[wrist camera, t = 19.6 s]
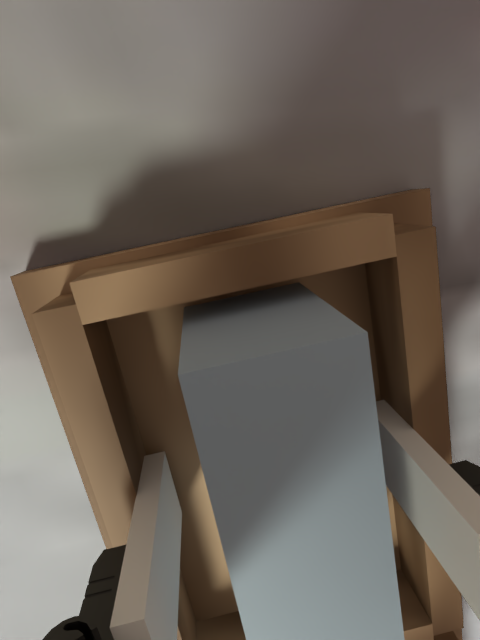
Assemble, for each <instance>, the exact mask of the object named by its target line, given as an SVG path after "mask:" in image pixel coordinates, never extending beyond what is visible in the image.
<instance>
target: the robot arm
mask: <svg viewBox="0 0 480 640" xmlns="http://www.w3.org/2000/svg"><path fill="white" fill-rule="evenodd" d="M376 407H377V415H378V423H379V432H380V440H381V448H382V456H383V465H384V473H385V481H386V486H387V487H388V489H389V490H390V491H391V493H392V494H393V496H394V497H395V499H396V500H397V502H398V503H399V504H400V506H401V507H402V509H403V510H404V512H405V513H406V515H407V516H408V517H409V519H410V520H411V522H412V523H413V525H414V526H415V528H416V529H417V530H418V532H419V533H420V535H421V536H422V538H423V539H424V541H425V542H426V543H427V545H428V546H429V548H430V549H431V551H432V552H433V554H434V555H435V557H436V558H437V559H438V561H439V562H440V564H441V565H442V567H443V568H444V570H445V571H446V572H447V574H448V575H449V577H450V578H451V580H452V581H453V583H454V584H455V585H456V587H457V588H458V590H459V591H460V593H461V594H462V596H463V597H464V598H465V600H466V601H467V603H468V604H469V606H470V607H471V609H472V610H473V611H474V613H475V614H476V616H477V617H478V619H479V620H480V467H479V466H477V465H475V464H473V463H470V462H468V461H466V460H465V461H461V462H457V463H453V464H448V463H447V462H446V461H445V460H444V459H443V458H442V457H441V456H440V455H439V454H438V453H437V452H436V451H435V450H434V449H433V448H432V447H431V446H430V445H429V444H428V443H427V442H426V441H425V440H424V439H423V438H422V437H421V436H420V435H419V434H418V433H417V432H416V431H415V430H414V429H413V428H412V427H411V426H410V425H409V424H408V423H407V422H406V421H405V420H404V419H403V418H402V417H401V416H400V415H399V414H398V413H397V412H396V411H395V410H394V409H393V408H392V407H391V406H390V405H389V404H388V403H387V402H386V401H385V400H380V401H376ZM181 527H182V510H181V507H180V503H179V500H178V496H177V493H176V489H175V486H174V482H173V479H172V475H171V472H170V468H169V465H168V461H167V458H166V454H165V451H163V452H159V453H155V454H151V455H146V456H144V461H143V466H142V471H141V476H140V481H139V486H138V491H137V496H136V499H135V504H134V509H133V514H132V519H131V524H130V529H129V534H128V539H127V544H126V545H122V546H118V547H114V548H110V549H106V550H104V551H103V552H102V554H101V555H100V556H99V558H98V559H97V561H96V562H95V564H94V565H93V568H92V571H91V575H90V579H89V585H88V586H87V589H86V593H85V599H84V600H83V603H82V607H81V611H80V614H79V616H74V617H72V618H69V619H67V620H65V621H62V622H61V623H60V624H58V625H57V626H56V627H54V628H53V629H51V631H50V632H49V633H48V634H47V635H46V636H45V637H44V638H43V640H177V626H178V601H179V576H180V552H181Z"/></svg>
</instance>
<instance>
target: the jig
mask: <svg viewBox="0 0 480 640" xmlns="http://www.w3.org/2000/svg"><path fill="white" fill-rule="evenodd" d="M11 280H12V283H13V286H14V289H15V292H16V294H17V297H18V300H19V303H20V306H21V309H22V311H23V314H24V317H25V320H26V323H27V326H28V328H29V331H30V334H31V337H32V340H33V342H34V345H35V348H36V351H37V354H38V357H39V359H40V362H41V365H42V368H43V371H44V374H45V376H46V379H47V382H48V385H49V388H50V391H51V393H52V396H53V399H54V402H55V405H56V408H57V410H58V413H59V416H60V419H61V422H62V424H63V427H64V430H65V433H66V436H67V439H68V441H69V444H70V447H71V450H72V453H73V456H74V458H75V461H76V464H77V467H78V470H79V473H80V475H81V478H82V481H83V484H84V487H85V490H86V492H87V495H88V498H89V501H90V504H91V506H92V509H93V512H94V515H95V518H96V521H97V523H98V526H99V529H100V532H101V535H102V538H103V540H104V543H105V546H106V549H110V548H114V547H118V546H122V545H126V544H127V539H128V534H129V529H130V524H131V519H132V514H133V509H134V504H135V499H136V496H137V491H138V486H139V481H140V476H141V471H142V466H143V461H144V456H146V455H151V454H155V453H159V452H163V451H165V454H166V458H167V461H168V465H169V468H170V472H171V475H172V479H173V482H174V486H175V489H176V493H177V496H178V500H179V503H180V507H181V510H182V527H181V552H180V576H179V601H178V626H177V640H246V637H245V633H244V629H243V625H242V622H241V618H240V614H239V610H238V606H237V602H236V598H235V594H234V591H233V587H232V583H231V579H230V575H229V571H228V567H227V563H226V560H225V556H224V552H223V548H222V544H221V540H220V536H219V532H218V529H217V525H216V521H215V517H214V513H213V509H212V505H211V501H210V498H209V494H208V490H207V486H206V482H205V478H204V474H203V470H202V467H201V463H200V459H199V455H198V451H197V447H196V443H195V439H194V436H193V432H192V428H191V424H190V420H189V416H188V412H187V408H186V405H185V401H184V397H183V393H182V389H181V385H180V381H179V377H178V368H179V357H180V346H181V336H182V325H183V314H184V307H188V306H193V305H197V304H202V303H206V302H211V301H215V300H220V299H225V298H229V297H234V296H238V295H243V294H248V293H252V292H257V291H261V290H266V289H271V288H275V287H280V286H284V285H289V284H294V283H298V282H299V283H300V284H302V285H303V286H305V287H306V288H307V289H309V290H310V291H311V292H313V293H314V294H316V295H317V296H318V297H320V298H321V299H322V300H324V301H325V302H327V303H328V304H329V305H331V306H332V307H334V308H335V309H336V310H338V311H339V312H340V313H342V314H343V315H345V316H346V317H347V318H349V319H350V320H351V321H353V322H354V323H356V324H357V325H358V326H360V327H361V328H363V329H364V330H365V331H367V332H368V340H369V349H370V357H371V365H372V373H373V382H374V390H375V398H376V401H380V400H385V401H386V402H387V403H388V404H389V405H390V406H391V407H392V408H393V409H394V410H395V411H396V412H397V413H398V414H399V415H400V416H401V417H402V418H403V419H404V420H405V421H406V422H407V423H408V424H409V425H410V426H411V427H412V428H413V429H414V430H415V431H416V432H417V433H418V434H419V435H420V436H421V437H422V438H423V439H424V440H425V441H426V442H427V443H428V444H429V445H430V446H431V447H432V448H433V449H434V450H435V451H436V452H437V453H438V454H439V455H440V456H441V457H442V458H443V459H444V460H445V461H446V462H447V463H448V464H452V455H451V441H450V427H449V412H448V398H447V384H446V370H445V355H444V341H443V327H442V313H441V298H440V284H439V270H438V256H437V241H436V227H435V226H432V212H431V198H430V188H425V189H412V190H407V191H403V192H398V193H393V194H388V195H384V196H379V197H374V198H369V199H365V200H360V201H355V202H350V203H346V204H341V205H336V206H331V207H327V208H322V209H317V210H313V211H308V212H303V213H298V214H294V215H289V216H284V217H279V218H275V219H270V220H265V221H260V222H256V223H251V224H246V225H241V226H237V227H232V228H227V229H222V230H218V231H213V232H208V233H204V234H199V235H194V236H189V237H185V238H180V239H175V240H170V241H166V242H161V243H156V244H151V245H147V246H142V247H137V248H132V249H128V250H123V251H118V252H114V253H109V254H104V255H99V256H95V257H90V258H85V259H80V260H76V261H71V262H66V263H61V264H57V265H52V266H47V267H42V268H38V269H33V270H28V271H24V272H21V273H19V274H16V275H14V276H11ZM386 490H387V498H388V506H389V515H390V523H391V531H392V540H393V548H394V556H395V564H396V573H397V581H398V589H399V598H400V606H401V614H402V623H403V631H404V639H405V640H462V629H461V628H464V626H463V612H462V598H461V593H460V591H459V590H458V588H457V587H456V585H455V584H454V583H453V581H452V580H451V578H450V577H449V575H448V574H447V572H446V571H445V570H444V568H443V567H442V565H441V564H440V562H439V561H438V559H437V558H436V557H435V555H434V554H433V552H432V551H431V549H430V548H429V546H428V545H427V543H426V542H425V541H424V539H423V538H422V536H421V535H420V533H419V532H418V530H417V529H416V528H415V526H414V525H413V523H412V522H411V520H410V519H409V517H408V516H407V515H406V513H405V512H404V510H403V509H402V507H401V506H400V504H399V503H398V502H397V500H396V499H395V497H394V496H393V494H392V493H391V491H390V490H389V489H388V487H387V486H386Z"/></svg>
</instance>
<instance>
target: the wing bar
mask: <svg viewBox="0 0 480 640" xmlns="http://www.w3.org/2000/svg"><path fill="white" fill-rule="evenodd" d="M178 377H179V381H180V385H181V389H182V393H183V397H184V401H185V405H186V408H187V412H188V416H189V420H190V424H191V428H192V432H193V436H194V439H195V443H196V447H197V451H198V455H199V459H200V463H201V467H202V470H203V474H204V478H205V482H206V486H207V490H208V494H209V498H210V501H211V505H212V509H213V513H214V517H215V521H216V525H217V529H218V532H219V536H220V540H221V544H222V548H223V552H224V556H225V560H226V563H227V567H228V571H229V575H230V579H231V583H232V587H233V591H234V594H235V598H236V602H237V606H238V610H239V614H240V618H241V622H242V625H243V629H244V633H245V637H246V640H405V639H404V631H403V623H402V614H401V606H400V598H399V589H398V581H397V573H396V564H395V556H394V548H393V540H392V531H391V523H390V515H389V506H388V498H387V490H386V481H385V473H384V465H383V456H382V448H381V440H380V432H379V423H378V415H377V407H376V398H375V390H374V382H373V373H372V365H371V357H370V349H369V340H368V332H367V331H365V330H364V329H363V328H361V327H360V326H358V325H357V324H356V323H354V322H353V321H351V320H350V319H349V318H347V317H346V316H345V315H343V314H342V313H340V312H339V311H338V310H336V309H335V308H334V307H332V306H331V305H329V304H328V303H327V302H325V301H324V300H322V299H321V298H320V297H318V296H317V295H316V294H314V293H313V292H311V291H310V290H309V289H307V288H306V287H305V286H303V285H302V284H300V283H299V282H298V283H294V284H289V285H284V286H280V287H275V288H271V289H266V290H261V291H257V292H252V293H248V294H243V295H238V296H234V297H229V298H225V299H220V300H215V301H211V302H206V303H202V304H197V305H193V306H188V307H184V314H183V325H182V336H181V346H180V357H179V368H178Z"/></svg>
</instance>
